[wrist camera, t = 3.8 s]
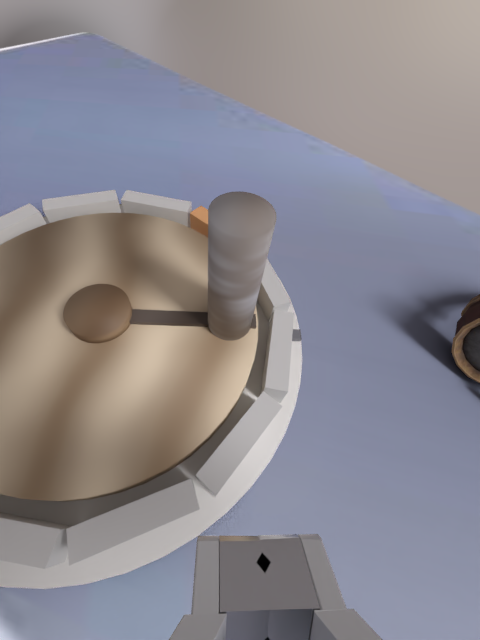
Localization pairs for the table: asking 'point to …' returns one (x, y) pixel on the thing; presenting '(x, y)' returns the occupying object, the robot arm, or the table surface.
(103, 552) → the dial base
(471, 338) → the goggles
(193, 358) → the dial
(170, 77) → the table surface
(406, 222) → the table surface
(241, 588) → the robot arm
